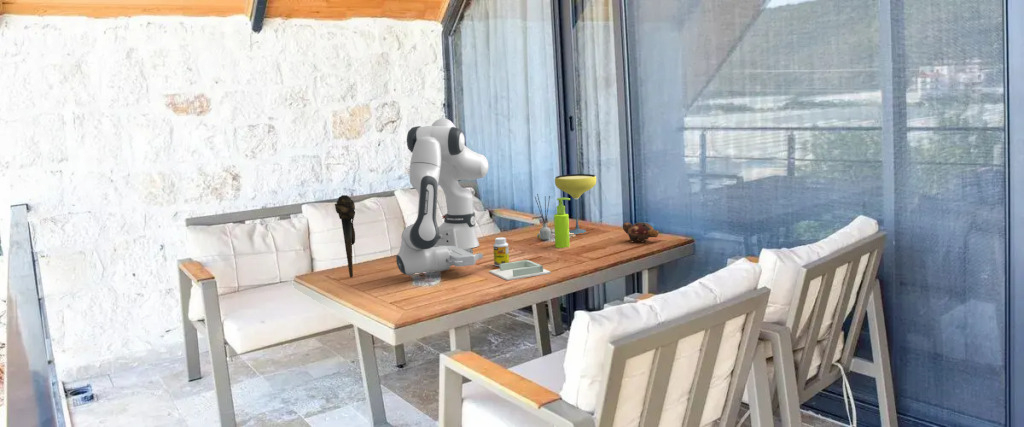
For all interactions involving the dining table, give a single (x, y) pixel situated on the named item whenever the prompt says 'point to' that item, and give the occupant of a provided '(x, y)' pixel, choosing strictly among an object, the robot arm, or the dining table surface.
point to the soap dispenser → (561, 225)
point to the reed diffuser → (544, 224)
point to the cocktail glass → (575, 189)
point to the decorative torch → (347, 225)
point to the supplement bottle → (500, 251)
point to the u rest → (519, 270)
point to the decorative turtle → (639, 231)
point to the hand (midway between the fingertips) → (477, 253)
